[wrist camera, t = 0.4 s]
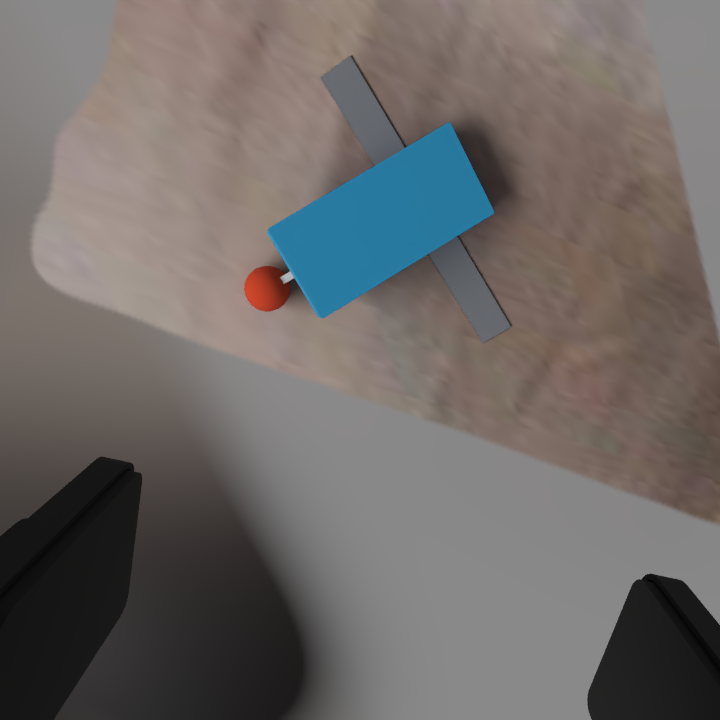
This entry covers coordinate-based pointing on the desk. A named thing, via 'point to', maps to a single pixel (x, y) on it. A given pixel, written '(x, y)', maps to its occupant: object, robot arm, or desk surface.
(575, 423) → the desk surface
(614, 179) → the desk surface
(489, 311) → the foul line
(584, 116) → the desk surface
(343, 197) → the lever
